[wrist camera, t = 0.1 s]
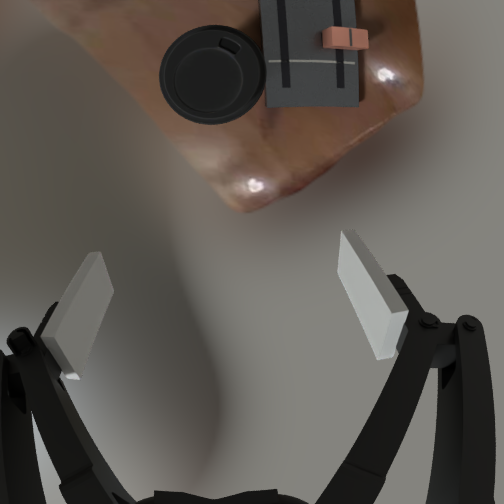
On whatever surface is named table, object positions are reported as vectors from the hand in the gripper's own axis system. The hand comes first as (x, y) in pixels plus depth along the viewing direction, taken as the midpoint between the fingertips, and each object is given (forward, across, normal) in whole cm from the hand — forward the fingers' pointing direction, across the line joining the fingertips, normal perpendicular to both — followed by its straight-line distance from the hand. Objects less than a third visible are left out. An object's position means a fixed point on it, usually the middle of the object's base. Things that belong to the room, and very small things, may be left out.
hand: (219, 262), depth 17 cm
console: (+28, +12, +17) cm, 35 cm away
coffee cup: (+28, 0, +10) cm, 30 cm away
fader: (+26, +15, +14) cm, 33 cm away
